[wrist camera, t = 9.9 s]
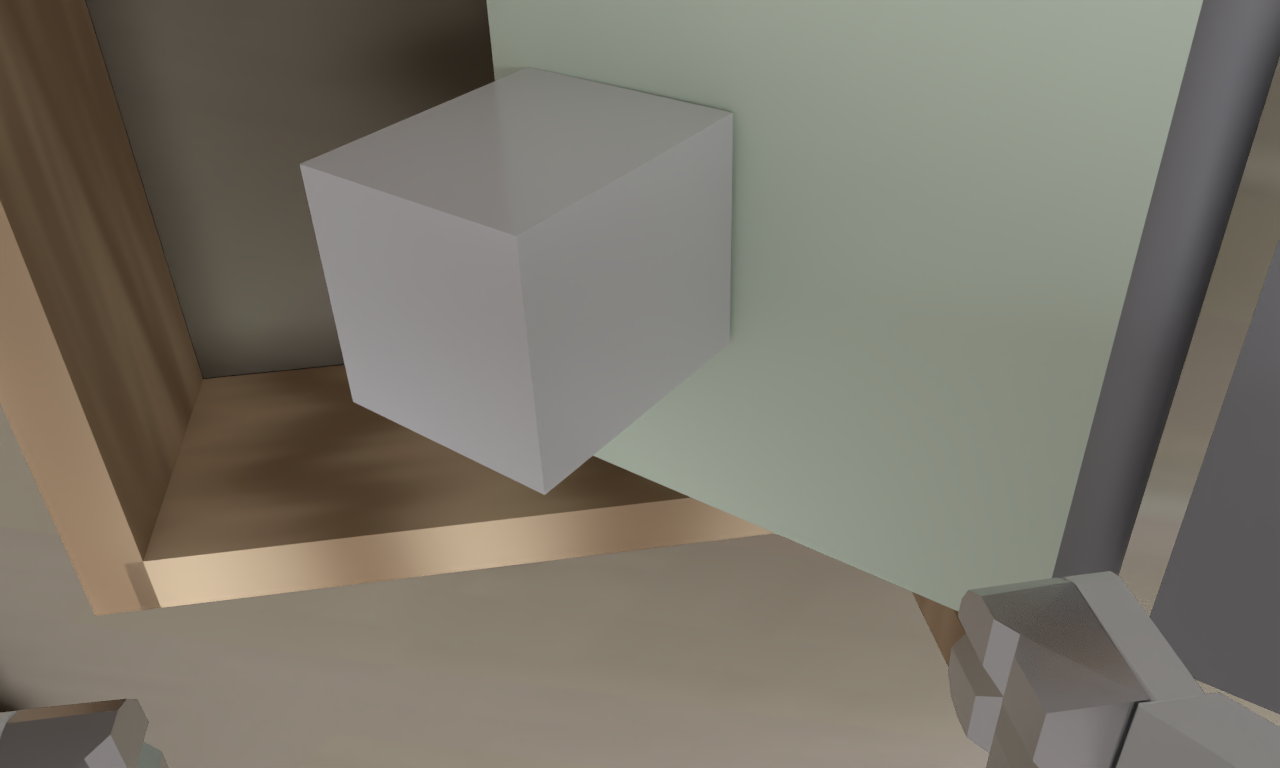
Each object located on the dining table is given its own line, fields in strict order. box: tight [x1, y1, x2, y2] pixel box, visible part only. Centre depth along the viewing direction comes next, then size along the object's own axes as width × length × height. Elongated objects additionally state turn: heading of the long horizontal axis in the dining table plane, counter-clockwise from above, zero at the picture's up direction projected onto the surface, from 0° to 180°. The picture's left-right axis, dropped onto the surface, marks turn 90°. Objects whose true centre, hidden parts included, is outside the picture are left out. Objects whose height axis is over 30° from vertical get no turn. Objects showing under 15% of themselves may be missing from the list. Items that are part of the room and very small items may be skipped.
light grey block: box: [300, 67, 733, 495], centre depth 18 cm, size 4×4×5 cm
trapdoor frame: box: [0, 0, 966, 667], centre depth 20 cm, size 23×18×14 cm
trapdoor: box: [486, 0, 1280, 714], centre depth 18 cm, size 16×14×3 cm
